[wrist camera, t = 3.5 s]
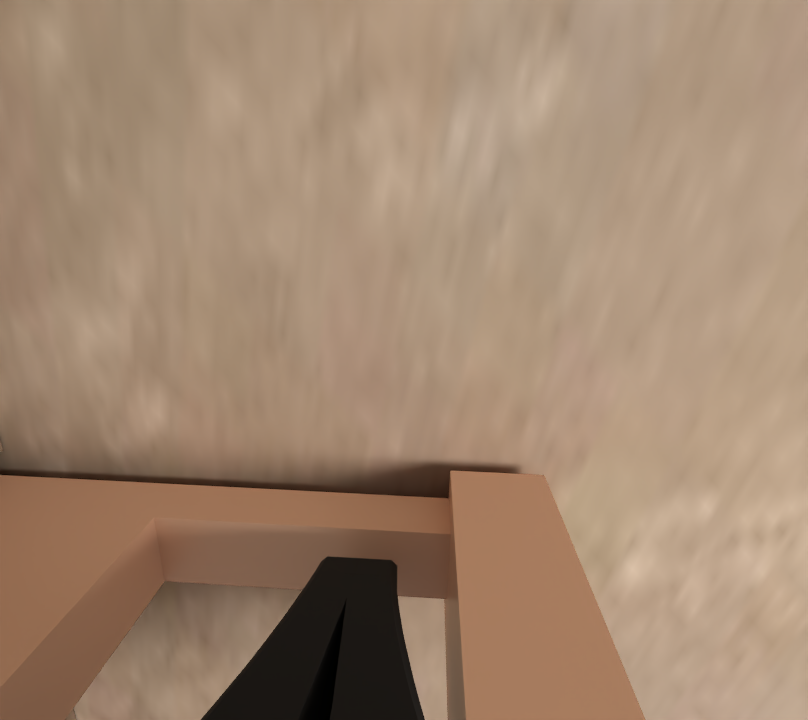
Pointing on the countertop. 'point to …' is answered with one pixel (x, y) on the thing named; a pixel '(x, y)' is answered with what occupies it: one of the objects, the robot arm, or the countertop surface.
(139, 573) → the stepped wooden plank
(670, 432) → the countertop surface
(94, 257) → the countertop surface
